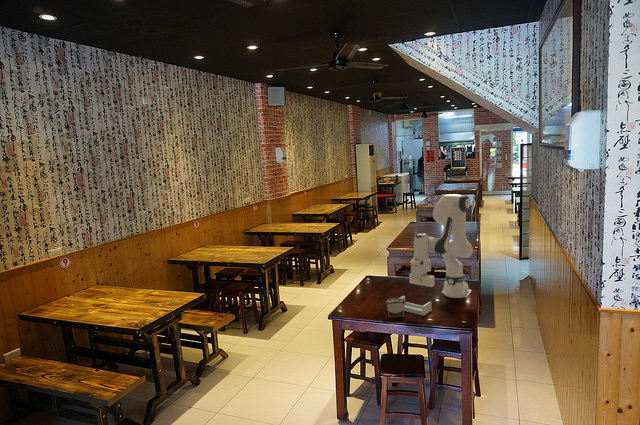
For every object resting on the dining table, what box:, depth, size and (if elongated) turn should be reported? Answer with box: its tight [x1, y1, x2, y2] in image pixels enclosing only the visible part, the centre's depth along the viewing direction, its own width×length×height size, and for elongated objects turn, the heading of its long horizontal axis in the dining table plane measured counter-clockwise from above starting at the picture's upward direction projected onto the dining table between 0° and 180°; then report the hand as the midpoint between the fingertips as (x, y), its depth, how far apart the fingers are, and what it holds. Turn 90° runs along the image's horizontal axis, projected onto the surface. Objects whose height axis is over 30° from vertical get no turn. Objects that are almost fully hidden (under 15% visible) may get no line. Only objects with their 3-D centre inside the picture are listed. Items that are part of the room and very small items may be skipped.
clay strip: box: [408, 272, 435, 288], centre depth 268 cm, size 4×15×6 cm, turn 49°
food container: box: [385, 297, 407, 318], centre depth 269 cm, size 12×6×10 cm, turn 92°
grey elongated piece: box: [398, 295, 432, 316], centre depth 276 cm, size 10×20×6 cm, turn 49°
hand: (421, 280), depth 268 cm, fingers closed on clay strip, 4 cm apart
